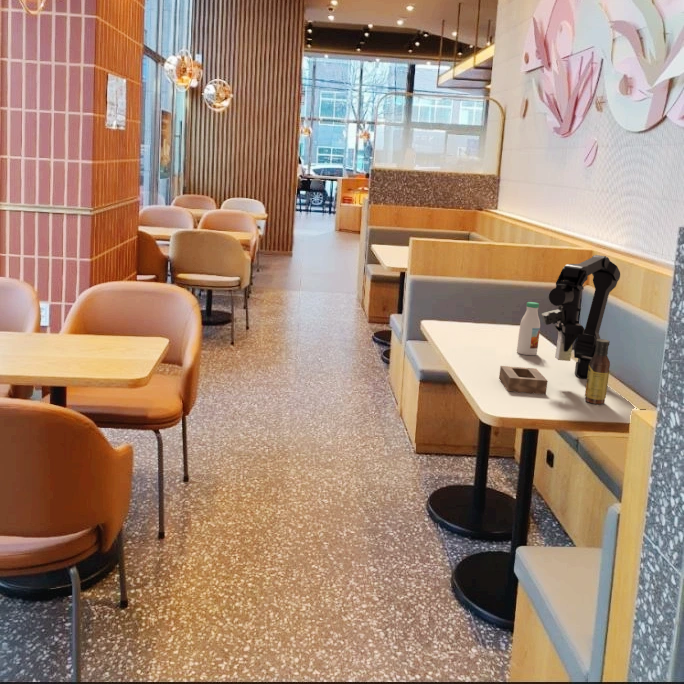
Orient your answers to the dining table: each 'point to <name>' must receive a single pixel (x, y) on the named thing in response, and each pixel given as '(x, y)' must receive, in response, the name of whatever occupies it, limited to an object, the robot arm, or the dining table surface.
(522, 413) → the dining table surface
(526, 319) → the milk bottle
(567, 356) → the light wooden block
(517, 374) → the well board
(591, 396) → the sauce bottle
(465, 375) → the dining table surface
